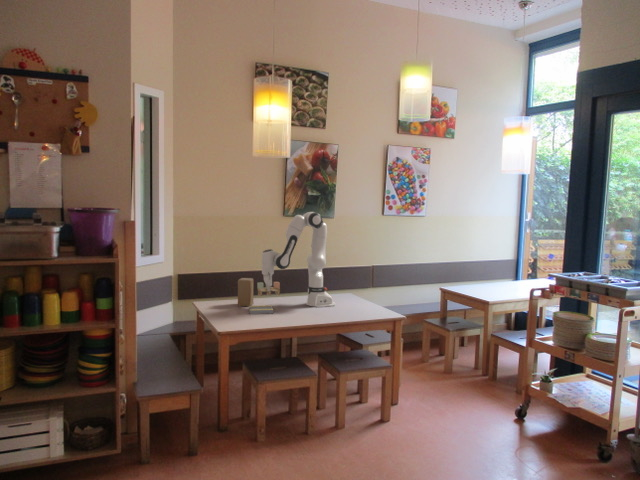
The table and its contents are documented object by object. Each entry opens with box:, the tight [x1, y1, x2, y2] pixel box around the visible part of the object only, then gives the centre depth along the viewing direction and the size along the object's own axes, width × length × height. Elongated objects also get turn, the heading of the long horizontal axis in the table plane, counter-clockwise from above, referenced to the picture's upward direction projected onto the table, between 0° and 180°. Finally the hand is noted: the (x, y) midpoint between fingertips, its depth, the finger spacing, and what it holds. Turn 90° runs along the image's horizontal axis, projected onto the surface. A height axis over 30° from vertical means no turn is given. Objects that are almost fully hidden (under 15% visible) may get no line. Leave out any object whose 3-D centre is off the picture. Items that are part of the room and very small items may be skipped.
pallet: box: [256, 286, 281, 297], centre depth 361 cm, size 16×6×5 cm, turn 103°
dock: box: [248, 304, 274, 315], centre depth 350 cm, size 16×12×3 cm
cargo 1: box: [256, 281, 265, 289], centre depth 360 cm, size 4×4×4 cm
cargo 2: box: [273, 281, 281, 289], centre depth 363 cm, size 4×4×4 cm
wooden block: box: [237, 277, 254, 307], centre depth 370 cm, size 10×10×20 cm
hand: (268, 290), depth 361 cm, fingers closed on pallet, 5 cm apart
